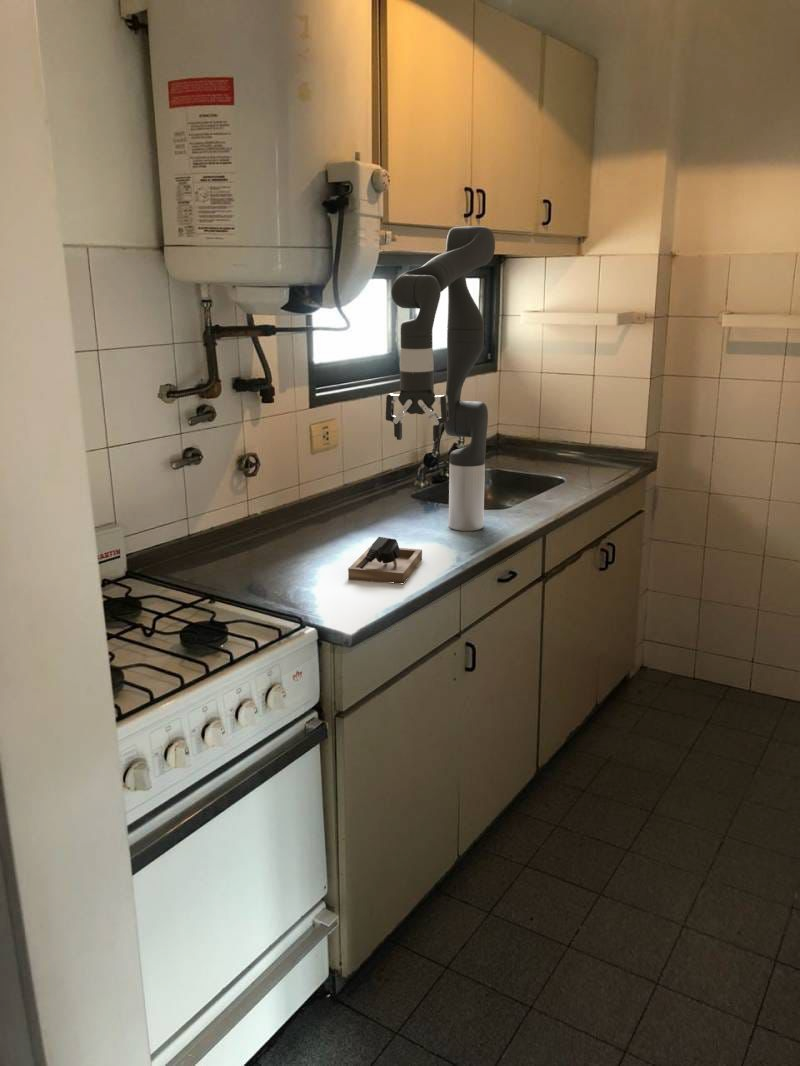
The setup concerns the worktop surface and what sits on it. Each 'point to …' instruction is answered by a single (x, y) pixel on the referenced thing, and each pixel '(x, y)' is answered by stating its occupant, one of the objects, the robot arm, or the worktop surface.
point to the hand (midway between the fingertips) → (417, 440)
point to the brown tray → (386, 567)
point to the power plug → (383, 551)
